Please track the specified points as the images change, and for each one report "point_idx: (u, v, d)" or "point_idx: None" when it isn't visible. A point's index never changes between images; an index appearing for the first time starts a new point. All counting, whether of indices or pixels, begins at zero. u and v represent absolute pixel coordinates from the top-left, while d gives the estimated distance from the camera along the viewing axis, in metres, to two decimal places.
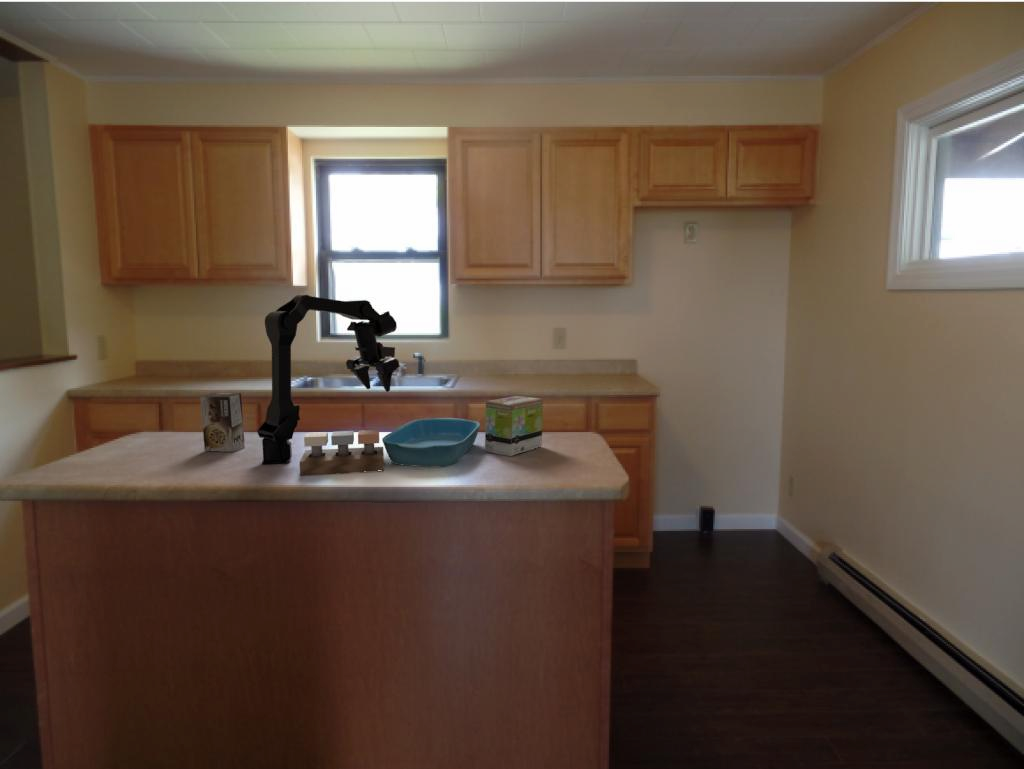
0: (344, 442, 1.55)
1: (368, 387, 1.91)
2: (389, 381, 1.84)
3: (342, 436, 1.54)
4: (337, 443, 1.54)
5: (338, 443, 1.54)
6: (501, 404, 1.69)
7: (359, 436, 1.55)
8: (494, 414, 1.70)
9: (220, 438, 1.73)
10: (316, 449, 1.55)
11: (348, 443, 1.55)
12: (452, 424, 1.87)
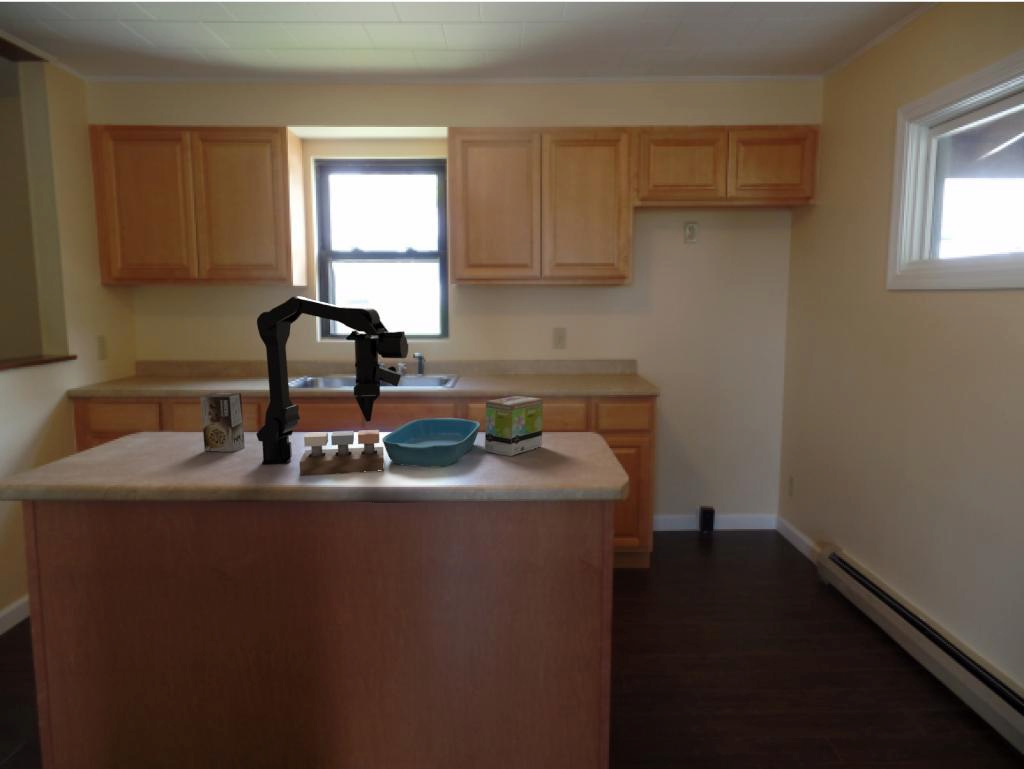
0: (344, 442, 1.55)
1: None
2: (369, 409, 1.52)
3: (342, 436, 1.54)
4: (337, 443, 1.54)
5: (338, 443, 1.54)
6: (501, 404, 1.69)
7: (359, 436, 1.55)
8: (494, 414, 1.70)
9: (220, 438, 1.73)
10: (316, 449, 1.55)
11: (348, 443, 1.55)
12: (452, 424, 1.87)
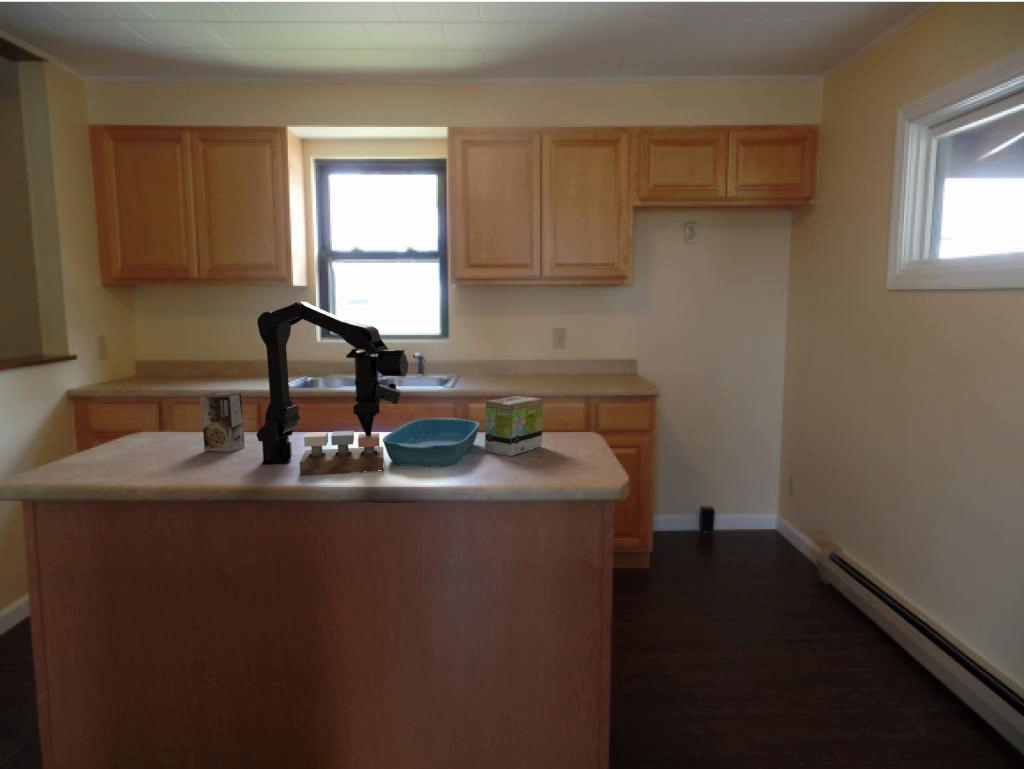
0: (344, 442, 1.55)
1: None
2: (369, 424, 1.57)
3: (342, 436, 1.54)
4: (337, 443, 1.54)
5: (338, 443, 1.54)
6: (501, 404, 1.69)
7: (359, 439, 1.55)
8: (494, 414, 1.70)
9: (220, 438, 1.73)
10: (316, 449, 1.55)
11: (348, 443, 1.55)
12: (452, 424, 1.87)
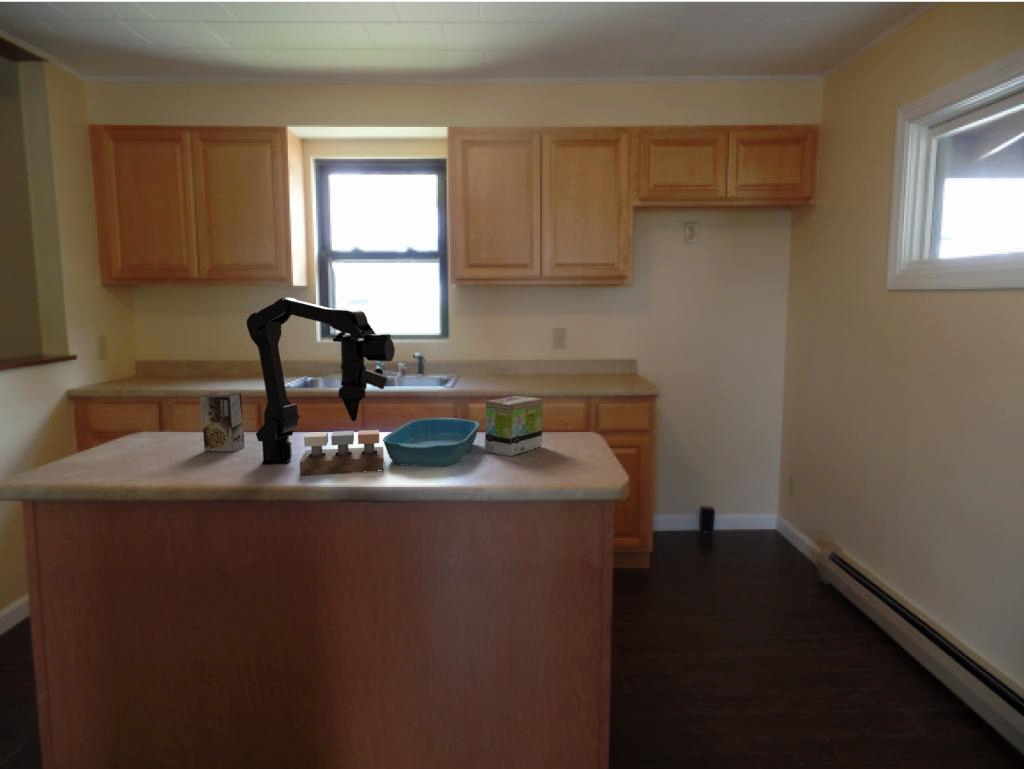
0: (344, 442, 1.55)
1: None
2: (355, 409, 1.55)
3: (342, 436, 1.54)
4: (337, 443, 1.54)
5: (338, 443, 1.54)
6: (501, 404, 1.69)
7: (359, 436, 1.55)
8: (494, 414, 1.70)
9: (220, 438, 1.73)
10: (316, 449, 1.55)
11: (348, 443, 1.55)
12: (451, 424, 1.87)
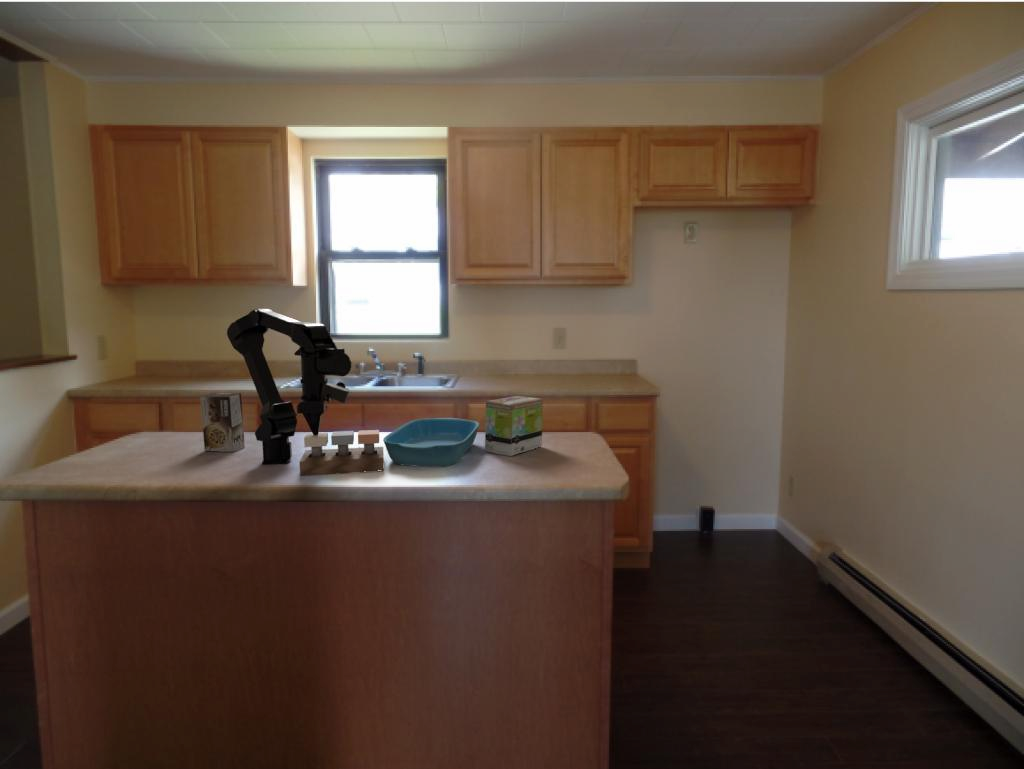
0: (344, 442, 1.55)
1: None
2: (316, 423, 1.54)
3: (342, 436, 1.54)
4: (337, 443, 1.54)
5: (338, 443, 1.54)
6: (501, 404, 1.69)
7: (359, 436, 1.55)
8: (494, 414, 1.70)
9: (220, 438, 1.73)
10: (316, 449, 1.55)
11: (348, 443, 1.55)
12: (451, 424, 1.87)
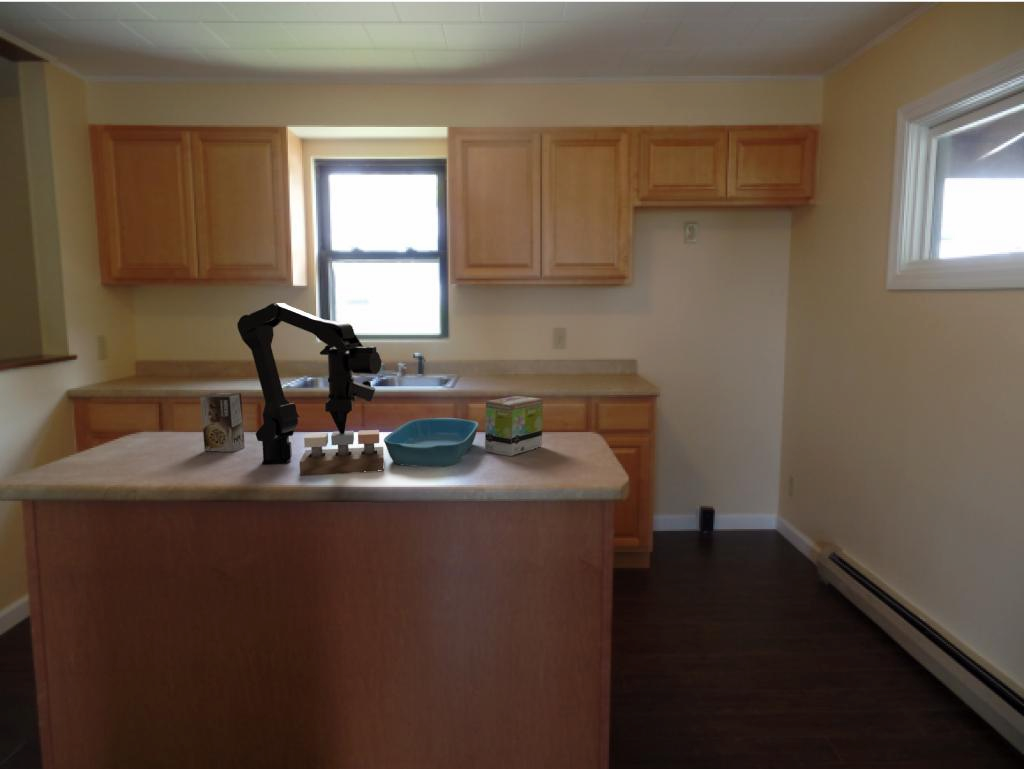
0: (344, 442, 1.55)
1: None
2: (343, 422, 1.55)
3: (342, 436, 1.54)
4: (337, 443, 1.54)
5: (338, 443, 1.54)
6: (501, 404, 1.69)
7: (359, 436, 1.55)
8: (494, 414, 1.70)
9: (220, 438, 1.73)
10: (316, 449, 1.55)
11: (348, 443, 1.55)
12: (450, 424, 1.87)
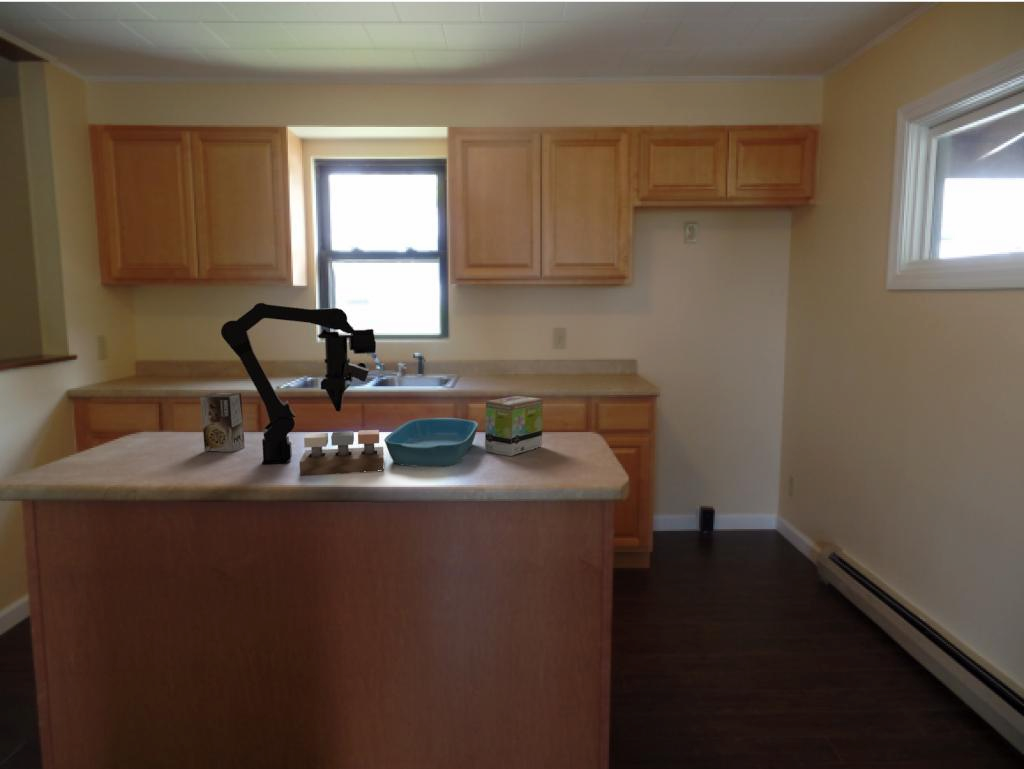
0: (344, 442, 1.55)
1: None
2: (339, 400, 1.67)
3: (342, 436, 1.54)
4: (337, 443, 1.54)
5: (338, 444, 1.54)
6: (501, 404, 1.69)
7: (359, 436, 1.55)
8: (494, 414, 1.70)
9: (220, 438, 1.73)
10: (316, 449, 1.55)
11: (348, 443, 1.55)
12: (449, 424, 1.87)
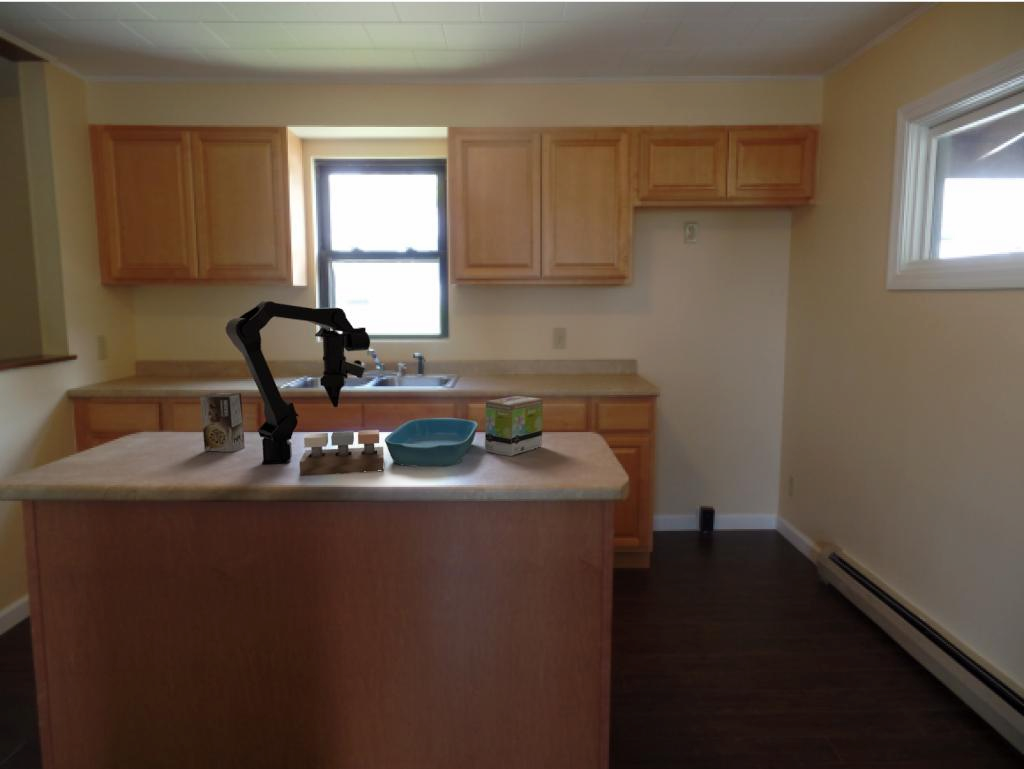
0: (344, 442, 1.55)
1: None
2: (336, 396, 1.73)
3: (342, 436, 1.54)
4: (337, 443, 1.54)
5: (338, 444, 1.54)
6: (501, 404, 1.69)
7: (359, 436, 1.55)
8: (494, 414, 1.70)
9: (220, 438, 1.73)
10: (316, 449, 1.55)
11: (348, 443, 1.55)
12: (448, 424, 1.87)
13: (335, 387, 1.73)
